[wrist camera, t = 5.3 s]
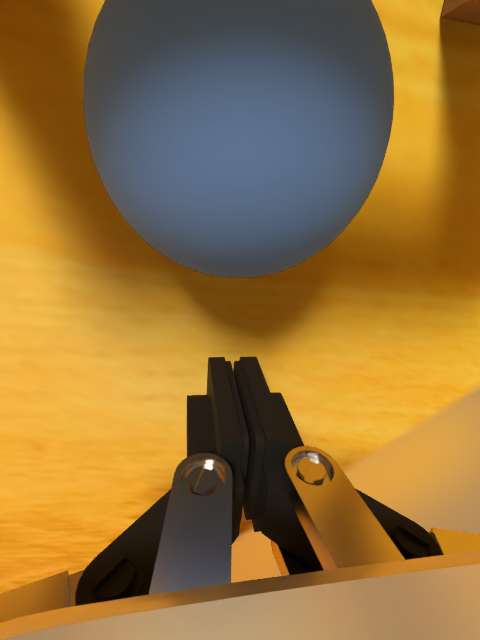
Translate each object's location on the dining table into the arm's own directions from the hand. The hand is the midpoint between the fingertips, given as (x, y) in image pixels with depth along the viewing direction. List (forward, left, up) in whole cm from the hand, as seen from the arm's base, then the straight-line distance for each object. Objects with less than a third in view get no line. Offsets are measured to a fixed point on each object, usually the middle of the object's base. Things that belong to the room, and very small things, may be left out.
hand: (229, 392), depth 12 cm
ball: (+1, -8, +2) cm, 8 cm away
